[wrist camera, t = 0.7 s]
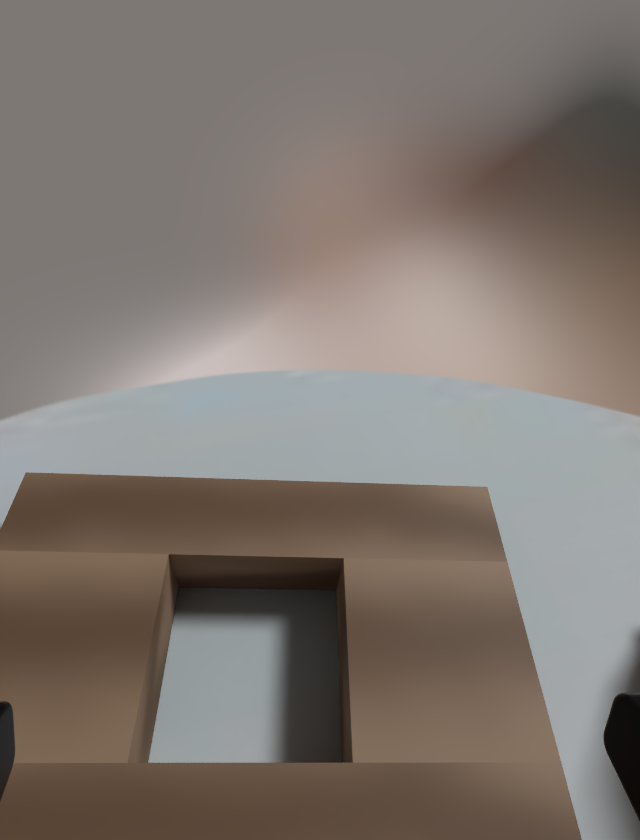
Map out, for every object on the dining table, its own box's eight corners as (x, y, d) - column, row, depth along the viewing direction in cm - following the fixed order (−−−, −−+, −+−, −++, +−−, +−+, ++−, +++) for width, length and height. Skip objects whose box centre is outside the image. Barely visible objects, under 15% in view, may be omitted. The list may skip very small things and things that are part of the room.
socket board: (557, 915, 16) (603, 920, 14) (-114, 928, 15) (-180, 936, 13) (468, 521, 26) (487, 487, 23) (48, 510, 24) (26, 472, 22)
